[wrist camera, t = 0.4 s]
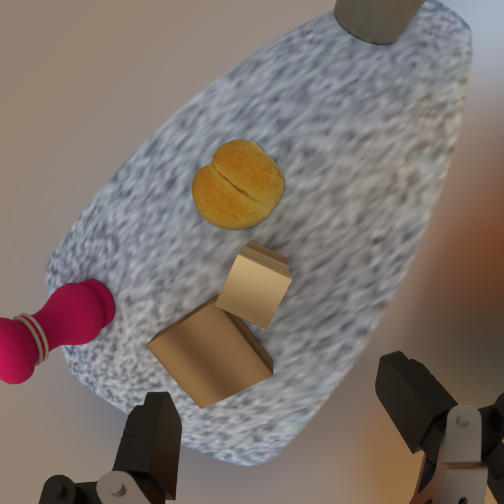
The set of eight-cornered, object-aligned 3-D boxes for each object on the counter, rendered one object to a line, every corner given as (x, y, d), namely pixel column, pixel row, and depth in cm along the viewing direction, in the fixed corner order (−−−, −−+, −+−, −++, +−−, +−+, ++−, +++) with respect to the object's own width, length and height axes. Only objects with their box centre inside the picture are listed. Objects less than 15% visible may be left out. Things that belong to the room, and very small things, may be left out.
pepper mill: (110, 271, 30) (-25, 326, 10) (125, 327, 31) (16, 416, 11) (70, 279, 31) (-49, 325, 11) (85, 329, 32) (-18, 399, 12)
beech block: (250, 240, 28) (237, 254, 19) (285, 257, 28) (292, 279, 19) (234, 275, 29) (214, 305, 19) (268, 291, 29) (266, 329, 19)
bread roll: (182, 194, 29) (169, 191, 25) (240, 132, 27) (234, 120, 23) (238, 247, 29) (232, 253, 25) (298, 184, 28) (302, 180, 24)
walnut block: (221, 292, 29) (215, 300, 26) (273, 361, 30) (273, 374, 27) (156, 334, 31) (145, 345, 28) (206, 394, 31) (201, 408, 28)
